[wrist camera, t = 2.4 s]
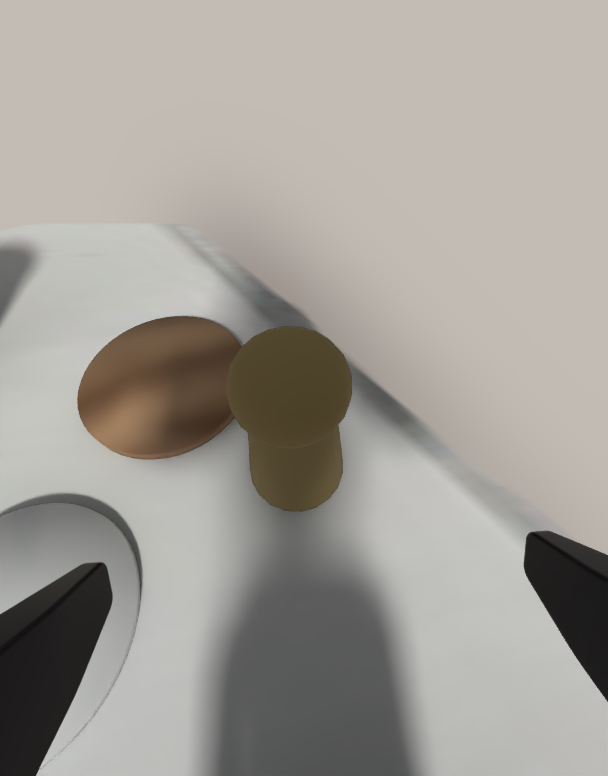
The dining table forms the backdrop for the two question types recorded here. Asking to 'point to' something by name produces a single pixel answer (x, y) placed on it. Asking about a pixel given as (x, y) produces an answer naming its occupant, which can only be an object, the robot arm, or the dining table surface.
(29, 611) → the robot arm
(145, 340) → the walnut trivet
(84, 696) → the grey round disc
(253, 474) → the olive chess pawn
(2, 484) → the dining table surface
